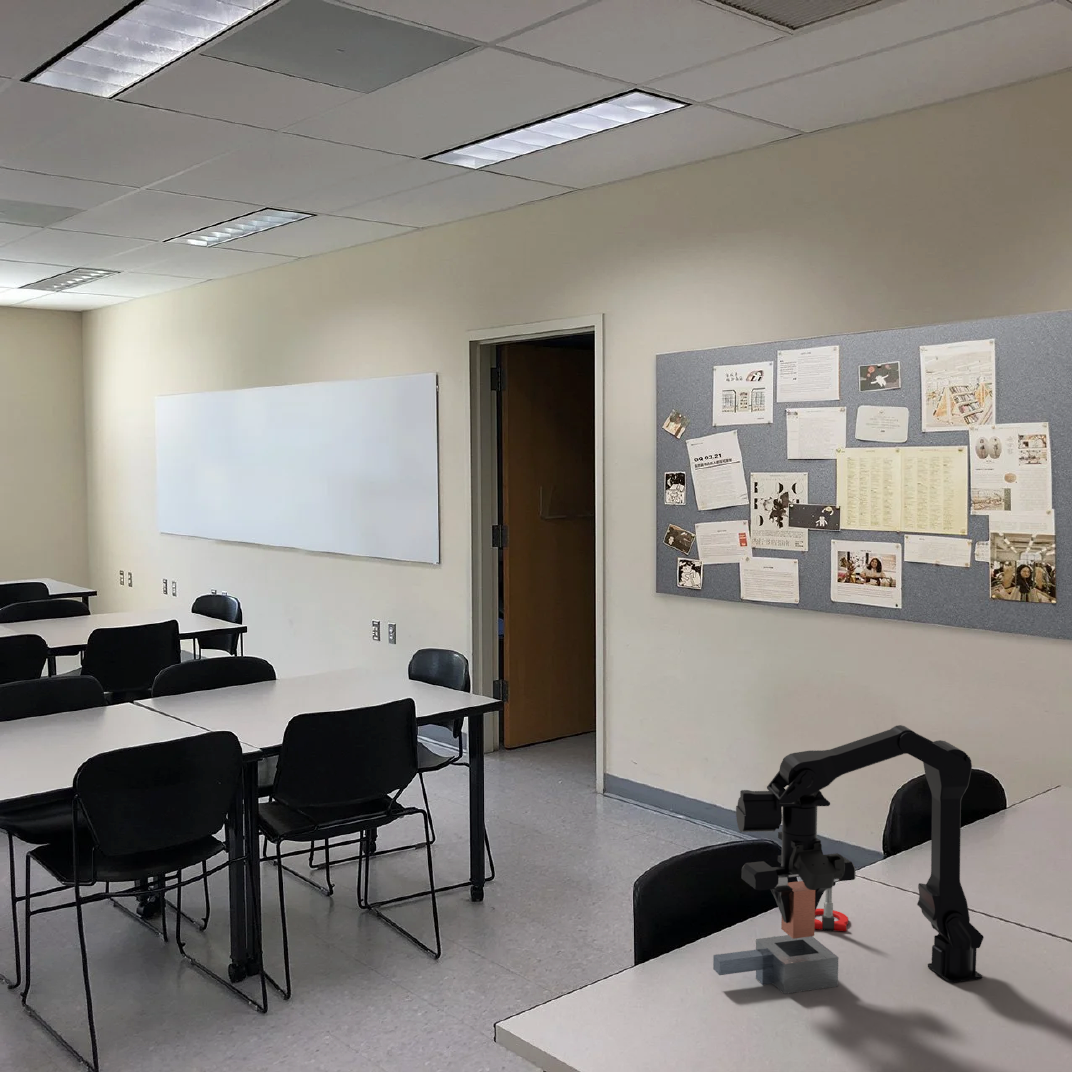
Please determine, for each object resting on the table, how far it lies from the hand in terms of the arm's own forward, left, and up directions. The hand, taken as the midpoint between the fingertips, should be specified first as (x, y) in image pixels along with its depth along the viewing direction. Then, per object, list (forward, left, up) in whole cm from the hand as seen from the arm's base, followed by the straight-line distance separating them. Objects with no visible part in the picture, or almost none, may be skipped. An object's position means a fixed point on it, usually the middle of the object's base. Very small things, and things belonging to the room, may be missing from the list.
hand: (797, 920), depth 187 cm
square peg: (0, 0, -2) cm, 2 cm away
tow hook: (-17, -19, -10) cm, 27 cm away
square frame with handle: (+5, 0, -10) cm, 11 cm away
